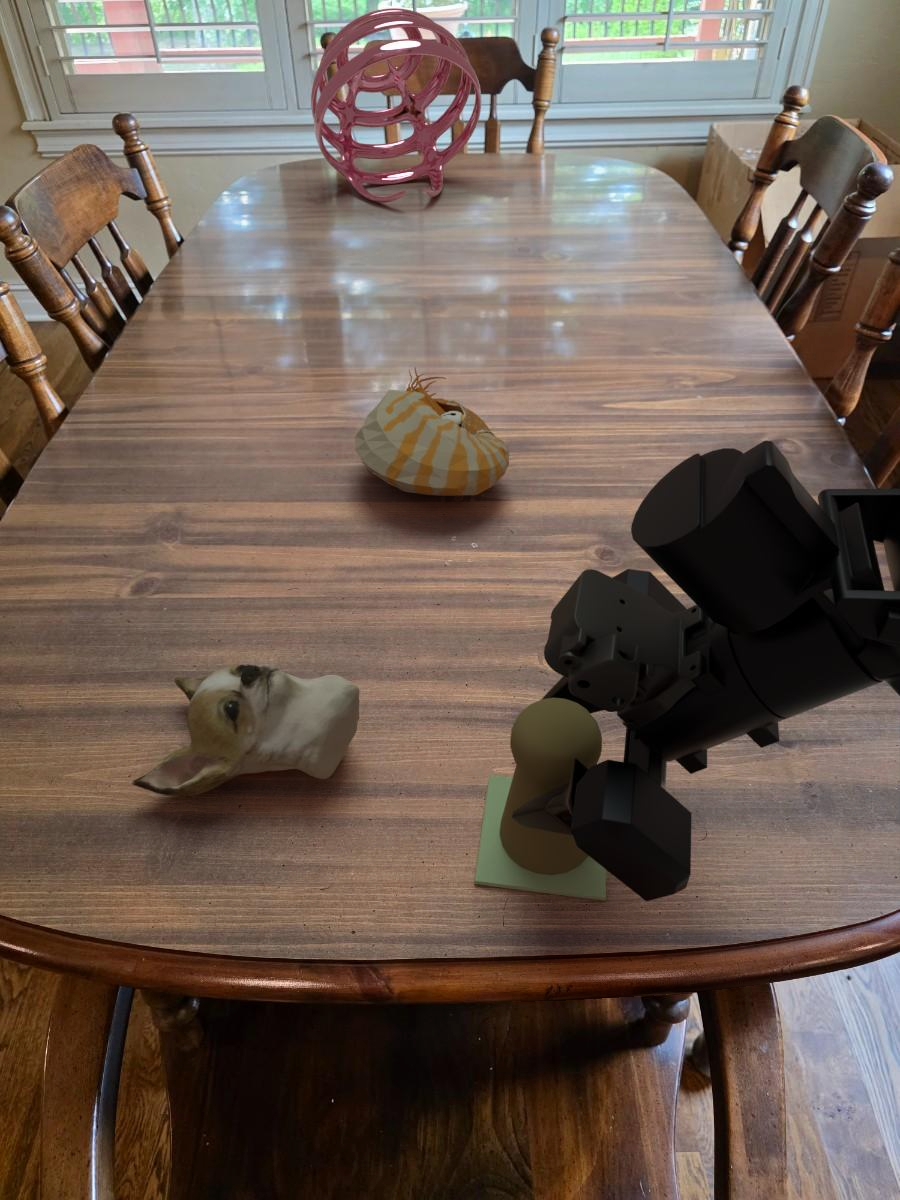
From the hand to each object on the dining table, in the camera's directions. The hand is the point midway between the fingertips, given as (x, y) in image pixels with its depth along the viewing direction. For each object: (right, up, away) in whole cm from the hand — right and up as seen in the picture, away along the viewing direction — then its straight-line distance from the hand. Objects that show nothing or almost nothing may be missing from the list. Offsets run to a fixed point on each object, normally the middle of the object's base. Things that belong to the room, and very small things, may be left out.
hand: (527, 765), depth 51 cm
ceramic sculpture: (-18, -1, +10) cm, 20 cm away
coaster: (+1, -5, +5) cm, 7 cm away
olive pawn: (+2, -5, +4) cm, 7 cm away
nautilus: (-6, +24, +37) cm, 44 cm away
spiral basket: (-13, +82, +102) cm, 131 cm away
